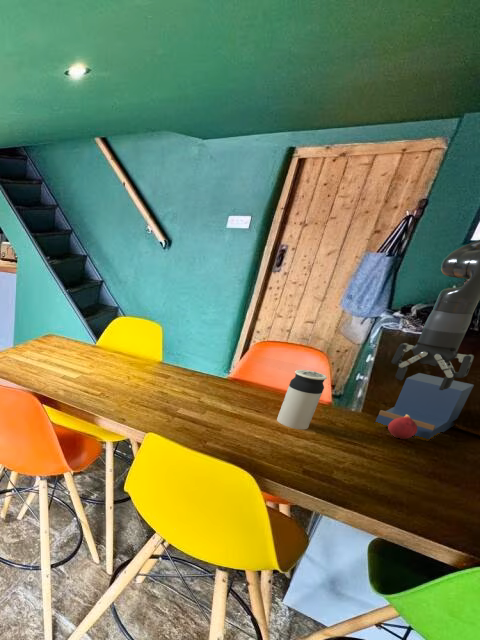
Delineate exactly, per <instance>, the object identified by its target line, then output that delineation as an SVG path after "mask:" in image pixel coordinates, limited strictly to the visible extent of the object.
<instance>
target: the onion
mask: <svg viewBox="0 0 480 640" xmlns="http://www.w3.org/2000/svg"><path fill="white" fill-rule="evenodd" d="M387 430H388V432H389V434H390V435H391V436H392V435H393V436H394V437H397V438H400V439H399V440H406V439H411V438H413V437H412V436H414V435H415V434H416V432H417V425H416V423H415V422H414V421H413V420H412V419H411V418H410V416H409V415H407V414H406V415H405V416H404V417H401V418H397V419H394V420H393V421H391V422H390V423H389V425H388V429H387ZM393 436H392V437H393ZM394 437H393V438H394Z"/></svg>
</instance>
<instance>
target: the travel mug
mask: <svg viewBox="0 0 480 640" xmlns="http://www.w3.org/2000/svg"><path fill="white" fill-rule="evenodd" d="M294 373H295V376H294V377H293V378H292V379H291V380H290V382H289V385H288V387H287V390H286V392H285V395H284V398H283V401H282V404H281V407H280V410H279V412H278V416H277V418H276V422H278V423H279V424H281V425H282V426H284V427H288V428H291V429H295V430H307V429H309V427H310V424H311V422H312V419H313V416H314V415H315V411H316V410H317V407H318V404H319V401H320V399H321V397H322V395H323V392H324V389H325V385H324V382H325V380H327V379H328V376H327V375H325V374H323V373H321V372H317V371H314V370H308V369H297V370H295V371H294Z"/></svg>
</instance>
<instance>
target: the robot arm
mask: <svg viewBox="0 0 480 640" xmlns="http://www.w3.org/2000/svg"><path fill="white" fill-rule="evenodd" d="M440 270H441V272H442V274H443V275H445V276H446V277H449V278H455V279H456V278H457V279H467V280H468V281H467V282H466V283H464V285H462V286H457V287H453V286H452V287H446V288H444V289H442V290H441V291H440V293H439V294H438V297H437V299H436V301H435V303H434V306H433V307H432V308H433V309H432V310H431V312H430V314H429V315H428V317H427V319H426V321H425V322H424V326H423V329H422V330H421V333H420V335H419V338H418V340H417V342H416V344H415V345H412V344H409V343H407V342H404V343H401V344H399V345H398V347H397V349H396V351H395V353H394V355H393V357H392V359H391V361H390V362H391V364H393V365H396V366H397V367H398V368H397V370H396V373H395V375H394V376H395V379H396V380H397V381H400V382H401V381H403V380H404V378H405V376H406V373H407V371H408V369H409V367H408V366H410V365H411V364H414V363H416V362H418V363H420V364H422V365H423V364H424V365H429V366H433V367H440V369H441V371H443V373H444V374H445V376H444V377H443V378H444V380H443V382H442V384H441V386H440V388H439V390H445V389H448V388H449V387H450V386H451V384H452V382H453V380H454V381H455V379H456V378H460V379H462V378H464V377H467V376H468V375H469V371H470V369H471V366H472V364H473V362H474V358H475V355H474V354H471V353H470V354H465V353H464V354H462V353H459V352H458V351H459V348H460V346H461V344H462V341H463V340H464V337H465V335H466V333H467V331H468V328H469V326H470V324H471V322H472V318H473V315H474V312H475V310H476V308H477V305H478V303H479V301H480V239H478V240H475V241H473V242H470V243H467V244H466V245H465V244H464V245H463V246H461V247H458V248H457V249H455V250H453V251H452V252H450V253H449V254H448V255H447V256H446V257H445V258H444V259H443V260H442V262H441V265H440ZM410 350H411V351H412V353H413V355H414V356H412V357H411V358H408V359H407V360H402V359H403V357H404V355H405V354H406V353H408V352H410ZM455 359H458V362H459V363H461V365H460V367H459V370H458V371H456V370H455V368H454V366H453V364H452V362H451V361H453V360H455Z"/></svg>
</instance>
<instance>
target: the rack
mask: <svg viewBox="0 0 480 640" xmlns="http://www.w3.org/2000/svg"><path fill="white" fill-rule="evenodd" d="M443 380H444V377H440V376H436V375H435V376H434V375H430V374H426V373H421V372H418V373H416V374H413V375H411V376H408V377H406V379H405V381H404V383H403V386H402V388H401V390H400V393H399V396H398V398H397V400H396V402H395V405H394V406H393V407H391V408H389V409H387V410H383V409H380V410H379V412H378V415H377V416H376V419H375V422H378V423H381V424H383V425H387V426H388V425H389V423H390V422H391V421H393V420H394V419H397V418H401V417H404V416H405V415H406V414H407V415H409V416H410V418H411V419H412V420H413V421H414V422H415V423H416V425H417V432H416V434H415V436H419V437H423V438H426V439H430V438H431V437H433V436H434V435H436V434H437V433H440V432H443V433H444V432H446V431H448V430H450V429H451V428H453V427H454V426H455V424H456V422H454V421H456V420H458V418H459V416H460V415H461V413H462V410H463V408H464V406H465V404H466V402H467V400H468V399H469V397H470V394H471V393H472V390H473V388H474V386H475V384H473V383H467V382H463V381H459V380H455V379H454V380H453V382H452V384H451V386H450V387H449V388H448V389H445V390H439V388H440V386H441V384H442V382H443Z"/></svg>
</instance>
